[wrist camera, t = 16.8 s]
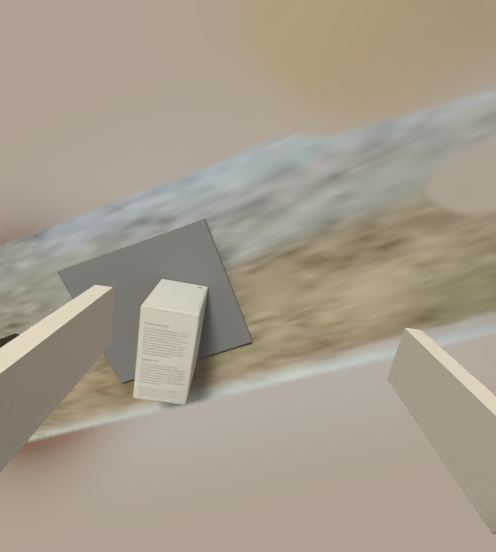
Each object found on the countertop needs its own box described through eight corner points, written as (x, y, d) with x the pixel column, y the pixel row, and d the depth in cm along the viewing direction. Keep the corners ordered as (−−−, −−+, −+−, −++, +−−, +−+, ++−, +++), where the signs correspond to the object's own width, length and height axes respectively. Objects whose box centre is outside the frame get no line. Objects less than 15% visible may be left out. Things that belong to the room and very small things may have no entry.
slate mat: (205, 219, 33) (204, 219, 33) (252, 339, 38) (252, 341, 38) (59, 270, 35) (57, 272, 34) (122, 380, 40) (121, 382, 39)
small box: (153, 355, 38) (161, 277, 35) (197, 362, 38) (209, 285, 35) (130, 399, 30) (138, 304, 27) (186, 407, 31) (200, 314, 28)
